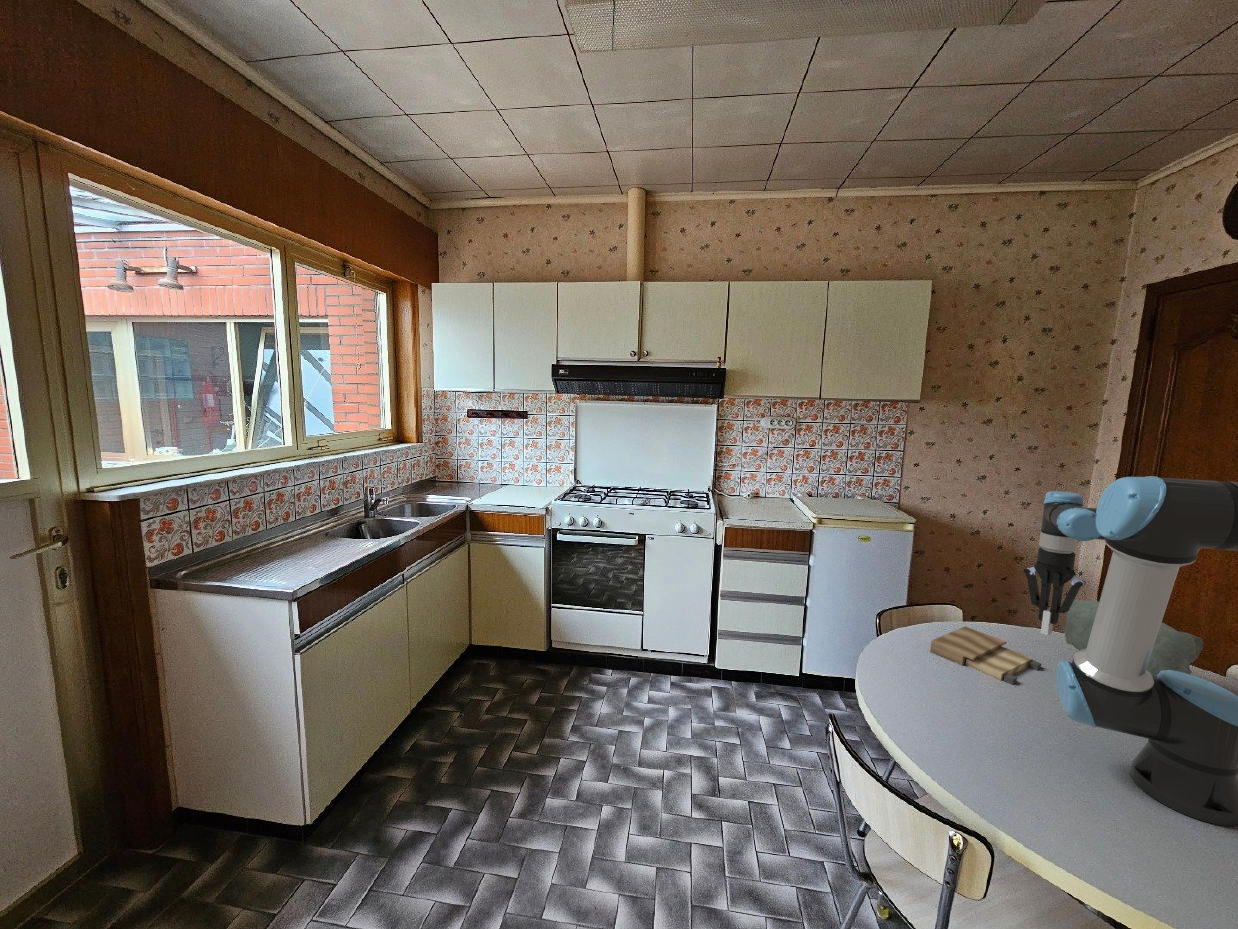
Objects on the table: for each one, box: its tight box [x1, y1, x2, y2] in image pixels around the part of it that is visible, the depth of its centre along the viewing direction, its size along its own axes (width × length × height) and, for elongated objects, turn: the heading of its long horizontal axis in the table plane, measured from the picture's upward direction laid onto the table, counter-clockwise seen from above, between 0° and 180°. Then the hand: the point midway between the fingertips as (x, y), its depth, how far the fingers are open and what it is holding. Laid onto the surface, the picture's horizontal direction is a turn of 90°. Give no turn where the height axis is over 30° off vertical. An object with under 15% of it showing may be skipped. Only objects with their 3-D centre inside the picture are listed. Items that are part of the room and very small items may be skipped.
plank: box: [965, 645, 1034, 681], centre depth 146 cm, size 18×9×5 cm, turn 119°
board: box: [929, 626, 1007, 666], centre depth 153 cm, size 20×12×4 cm, turn 120°
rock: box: [1064, 598, 1204, 679], centre depth 141 cm, size 27×6×20 cm, turn 42°
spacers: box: [1003, 659, 1042, 685], centre depth 141 cm, size 17×2×2 cm, turn 120°
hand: (1046, 633), depth 136 cm, fingers closed
